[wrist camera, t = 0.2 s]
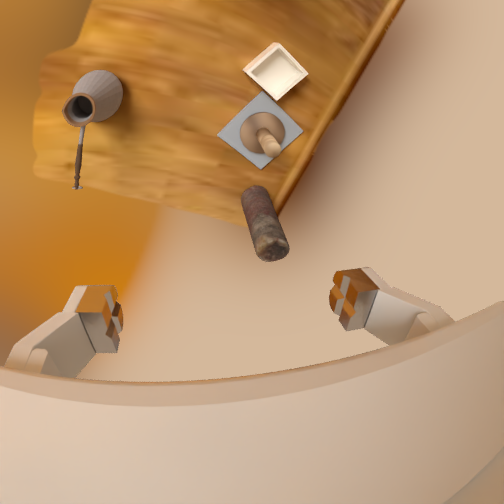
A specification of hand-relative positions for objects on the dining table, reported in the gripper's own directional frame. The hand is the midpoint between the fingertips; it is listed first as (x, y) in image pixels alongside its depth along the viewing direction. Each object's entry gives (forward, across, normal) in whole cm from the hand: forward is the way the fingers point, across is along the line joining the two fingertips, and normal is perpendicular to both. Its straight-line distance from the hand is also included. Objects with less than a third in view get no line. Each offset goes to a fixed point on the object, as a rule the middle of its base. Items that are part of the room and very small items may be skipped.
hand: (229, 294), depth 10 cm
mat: (+54, -14, -4) cm, 55 cm away
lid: (+53, -14, -4) cm, 55 cm away
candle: (+60, -14, +14) cm, 63 cm away
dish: (+49, -14, -18) cm, 54 cm away
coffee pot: (+51, +23, -10) cm, 57 cm away
